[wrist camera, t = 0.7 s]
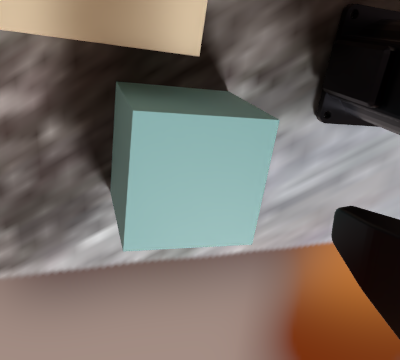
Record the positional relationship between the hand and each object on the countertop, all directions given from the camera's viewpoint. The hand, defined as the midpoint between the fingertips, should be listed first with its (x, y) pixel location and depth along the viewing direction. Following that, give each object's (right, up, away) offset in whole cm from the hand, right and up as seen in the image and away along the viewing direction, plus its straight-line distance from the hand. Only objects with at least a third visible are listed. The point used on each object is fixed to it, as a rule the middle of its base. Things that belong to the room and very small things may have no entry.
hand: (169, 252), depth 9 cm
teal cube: (-1, +4, +12) cm, 13 cm away
